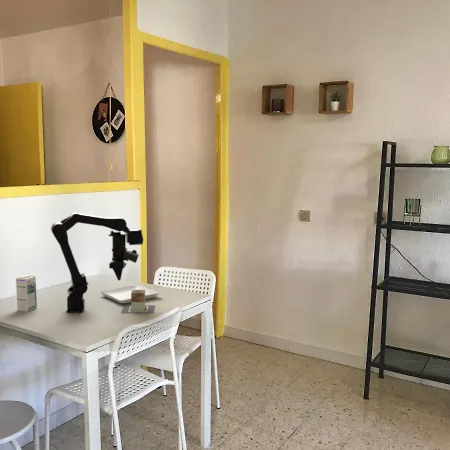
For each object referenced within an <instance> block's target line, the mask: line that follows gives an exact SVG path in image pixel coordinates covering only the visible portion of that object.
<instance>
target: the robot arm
mask: <svg viewBox="0 0 450 450" xmlns="http://www.w3.org/2000/svg"><path fill="white" fill-rule="evenodd" d="M76 224H85V225H92V226H98V227H105V228H108V229H110V231H109V232H108V233H107V236H108V237H112V241H111V242H112V248H111V252H112V257H111V261H110V262H109V263H108V264H109V265H108V266H109V269H112V271H113V273H114V275H115V277H116V279H117V281H121V279H122V276H123V275H122V274H123V270H124V269H125V268H126V266H127V262H129V261H130V262H132V263H134V264H136V263H137V261H138V258H139V256H140V254H139V253H138V252H137V250H136V249H133V250H132V251H131V250H128V248H127V246H126V243H127V244H128V245H129V246H138V245H139V246H140V245H142V246H143V244H144V237H143V233H142V232H143V231H142V229H130V228H129V227H128V226H127V221H126V220H125V219H124V218H122V217H120V216H107V217H106V216H105V217H103V216H99V215H98V216H97V215H90V214H89V215H88V214H83V213H78V212H73V213H71V214H70V215H69V216H67V217H65V218H64V219H62V220H60V221H55V222H54V223H53V224H52V225H51V227H50V231H51V233H52V235H53V237H54V238H55V240H56V241H57V243H58V244H59V247H60V249H61V250H60V251H61V253H62V255H63V257H64V258H63V259H64V261H65V263H66V265H67V268H68V271H69V274H70V280H71V285H70V287H69V288H68V289H67V294H68V296H67V297H66V301H67V302H66V305H67V306H66V309H67V310H65V311H66V313H82V312H83V311H84V310H85V308H86V307H85V304H86V303H85V302H86V301H85V298H84V294H86V292H88V290H89V289H88V288H89V287H88V286H89V285H90V284H89V282H88V281H87V278H86V274H85V273H84V272H82V273H80V270H79V268H78V265H77V262H76V259H75V255H74V254H73V252H72V248H71V246H70V243H69V236H68V231H69V230H70V229H72V228H73V227H74V226H75V225H76ZM121 232H124V233H121Z"/></svg>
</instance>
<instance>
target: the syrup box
mask: <svg viewBox="0 0 450 450" xmlns="http://www.w3.org/2000/svg"><path fill="white" fill-rule="evenodd" d="M36 281H37V279H36V276H35V275H30V274H27V275H23V276H19V277H16V278H15V288H16V291H15V292H16V308H17V309H16V310H17V311H20V312H25V313H29V312H31V311H33V310H36V309H38V305H37V304H38V303H37V286H36V285H37V284H36V283H37V282H36Z"/></svg>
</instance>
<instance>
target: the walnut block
mask: <svg viewBox="0 0 450 450" xmlns="http://www.w3.org/2000/svg"><path fill="white" fill-rule="evenodd" d="M144 301H145V302H146V299H145V290H132V292H131V302H144ZM131 302H130V303H131Z"/></svg>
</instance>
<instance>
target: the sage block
mask: <svg viewBox="0 0 450 450" xmlns="http://www.w3.org/2000/svg"><path fill="white" fill-rule="evenodd" d="M130 303H131V311H144V310H145V305H146V300H145V301H144V302H130Z"/></svg>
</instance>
